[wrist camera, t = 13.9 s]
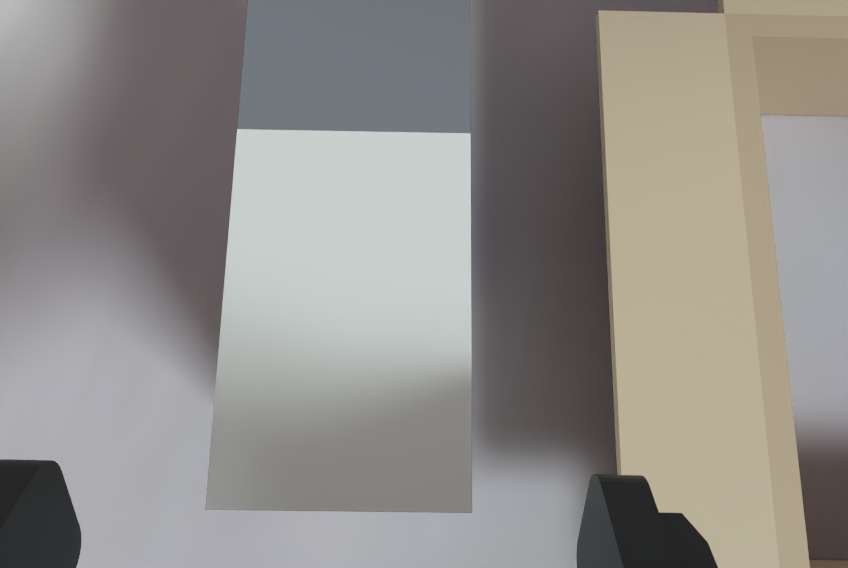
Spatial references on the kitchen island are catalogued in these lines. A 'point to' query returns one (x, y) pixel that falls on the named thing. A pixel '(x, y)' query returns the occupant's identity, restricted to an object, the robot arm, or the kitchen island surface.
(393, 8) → the box
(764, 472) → the carton
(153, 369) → the kitchen island surface
